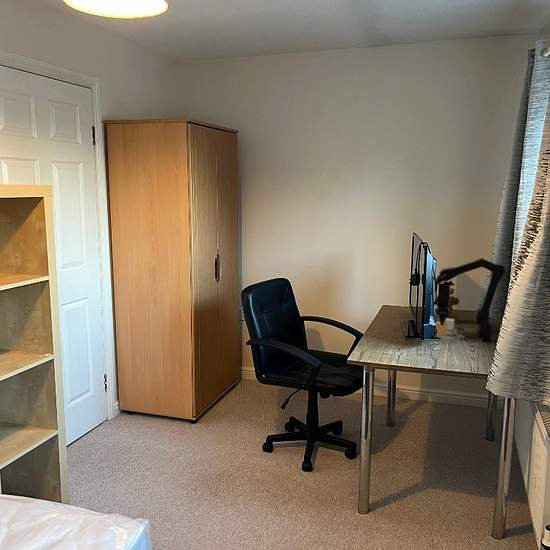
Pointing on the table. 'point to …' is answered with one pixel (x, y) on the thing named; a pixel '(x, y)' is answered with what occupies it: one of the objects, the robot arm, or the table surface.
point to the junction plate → (451, 335)
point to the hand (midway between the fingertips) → (442, 323)
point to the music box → (452, 302)
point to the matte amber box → (441, 329)
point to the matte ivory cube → (450, 324)
